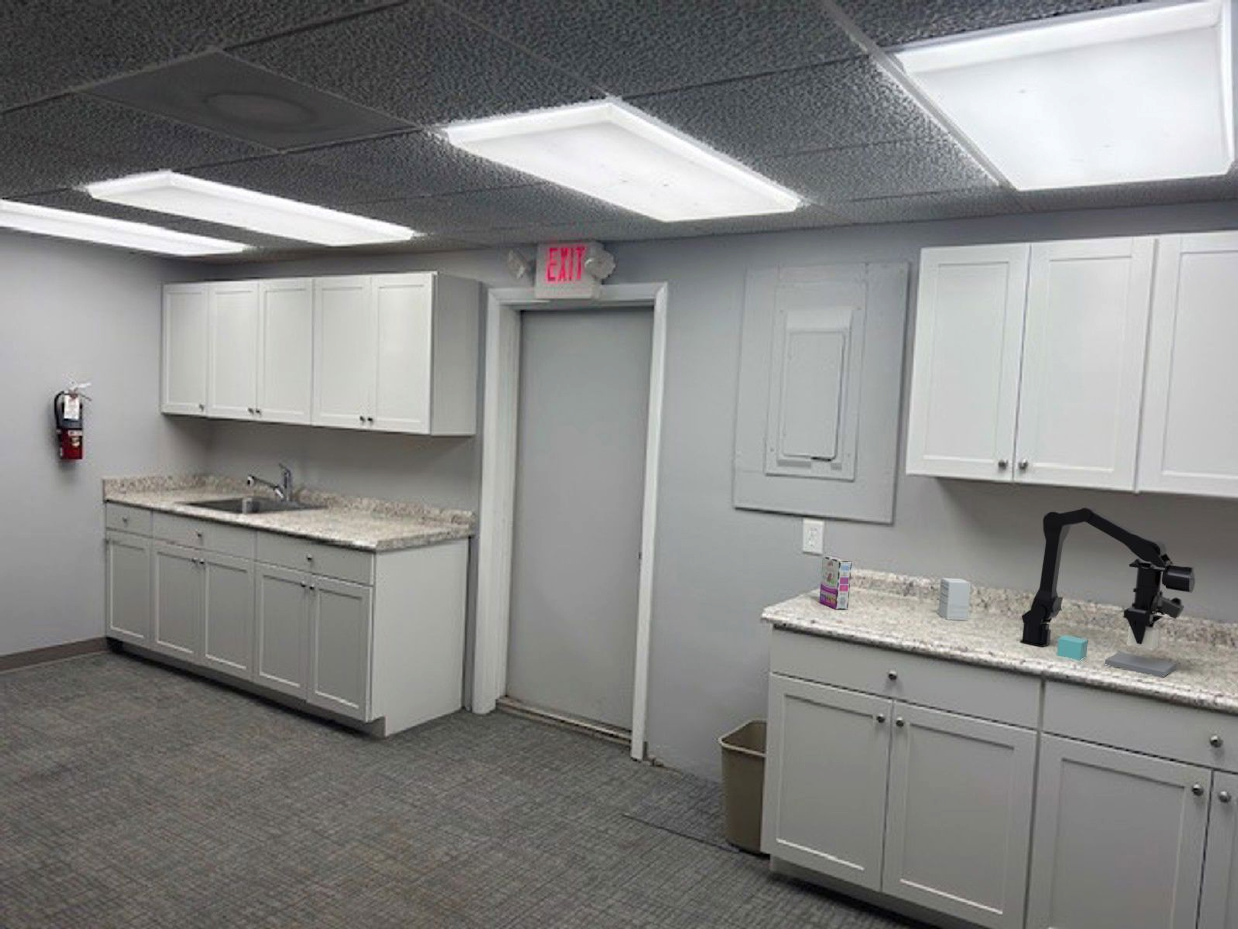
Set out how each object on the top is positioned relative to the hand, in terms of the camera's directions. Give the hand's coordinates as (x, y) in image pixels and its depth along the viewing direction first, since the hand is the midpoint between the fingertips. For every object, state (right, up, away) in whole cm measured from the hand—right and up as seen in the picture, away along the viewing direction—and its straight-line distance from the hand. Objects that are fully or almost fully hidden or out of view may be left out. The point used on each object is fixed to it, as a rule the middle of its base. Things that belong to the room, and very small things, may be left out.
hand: (1142, 642), depth 241 cm
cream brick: (0, -1, 0) cm, 1 cm away
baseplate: (0, -7, 0) cm, 7 cm away
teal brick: (-15, -6, +8) cm, 18 cm away
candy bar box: (-70, 0, +57) cm, 91 cm away
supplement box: (-33, -2, +50) cm, 60 cm away
